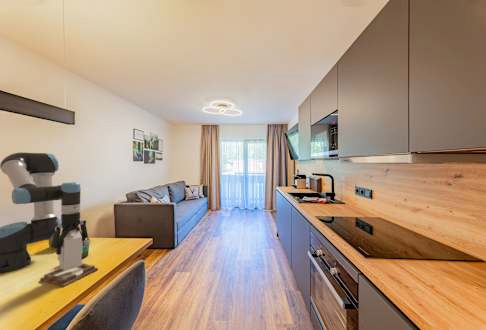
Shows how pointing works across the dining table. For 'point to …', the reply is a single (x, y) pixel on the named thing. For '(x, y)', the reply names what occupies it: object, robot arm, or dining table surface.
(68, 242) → the milk carton
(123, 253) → the dining table surface
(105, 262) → the dining table surface
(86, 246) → the food container
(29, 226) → the robot arm
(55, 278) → the brown picture frame
